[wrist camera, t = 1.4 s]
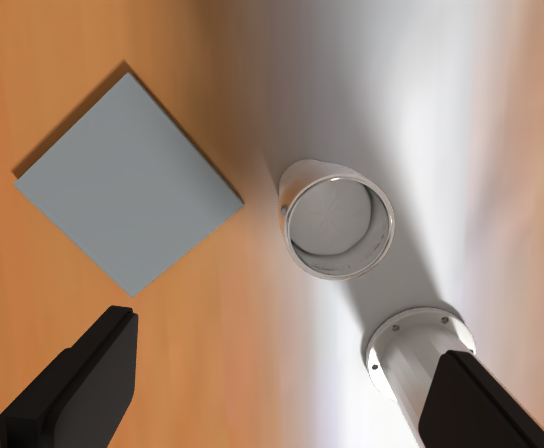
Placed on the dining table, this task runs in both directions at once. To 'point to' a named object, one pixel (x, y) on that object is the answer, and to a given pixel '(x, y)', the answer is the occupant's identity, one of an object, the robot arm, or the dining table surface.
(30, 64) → the dining table surface
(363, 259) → the beer glass
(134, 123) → the grey mat
